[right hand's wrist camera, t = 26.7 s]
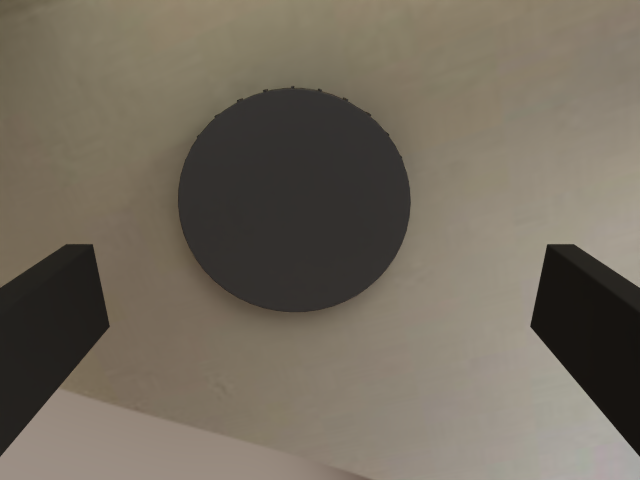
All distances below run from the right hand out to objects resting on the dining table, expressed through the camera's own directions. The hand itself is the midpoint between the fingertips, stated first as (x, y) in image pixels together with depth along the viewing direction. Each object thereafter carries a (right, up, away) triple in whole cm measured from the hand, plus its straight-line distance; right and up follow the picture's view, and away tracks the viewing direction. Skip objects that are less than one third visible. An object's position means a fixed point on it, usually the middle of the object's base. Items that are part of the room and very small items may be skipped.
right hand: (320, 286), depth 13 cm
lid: (-1, +3, +8) cm, 8 cm away
